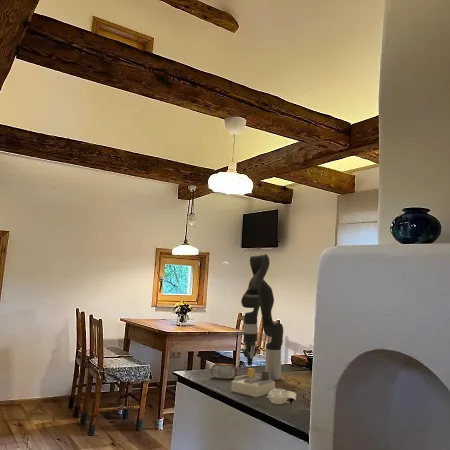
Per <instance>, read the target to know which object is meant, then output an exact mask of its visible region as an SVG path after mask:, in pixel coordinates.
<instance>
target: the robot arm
mask: <svg viewBox="0 0 450 450" xmlns="http://www.w3.org/2000/svg"><path fill="white" fill-rule="evenodd" d="M270 262H271V261H270V257H269V256H268V254H267V253H266V254H265V253H261V254H254V255H251V256H250V257H249V264H250V269H251V272H252V277H251V278H250V280H249V282H248V286H247V289H246V291H245V292H244V294H243V295H242V297H241V301H240V302H241V306H242V307H243V308H247V309H253V310H252V311H248V312H245V313H244V315H243V316H244V321H243V341H244V346H243V347H242V348H241V352H242V354H243V356H244V357H245V358H246V359H247V360H246V361H247V366H252V365H253V359H254V357H255V356H256V355H257V352H258V349H259V346H258V345H257V343H256V342H258V315H259V311H260V313H261V320H262V321H261V322H262V329H263V332H264V333H263V334H265V335H266V337H270V341H269V342H267V343H265V361H264V363H265V365H264V371H268V372H269V380H270V379H273V381H278V380H281V379H282V360H281V359H282V355H281V354H282V346H283V339H284V326H283V324H282V323H281V322H277V321H274V320H273V317H272V310H273V308H274V307H273V306H274V304H275V303H274V302H275V298H274V292H273V289H272V287H271V286H270V285H269V284H268V282H267V281H266V280H265V277H266V274H267V272H268V270H269V267H270Z"/></svg>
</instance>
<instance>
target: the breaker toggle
mask: <svg viewBox="0 0 450 450" xmlns="http://www.w3.org/2000/svg"><path fill="white" fill-rule="evenodd" d="M247 375H248V376H247V377H246V378H252V377H256V368H250V367H249V368H247Z"/></svg>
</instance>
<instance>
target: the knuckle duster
mask: <svg viewBox="0 0 450 450" xmlns="http://www.w3.org/2000/svg"><path fill="white" fill-rule="evenodd" d="M265 397H266V398H267V399H268V400H269V401H270V403H272V404H276V405H282V404H285V403H286V404H295V403H297V393H296V392H294V391H291V390H285V389H283V388H278V389H273V390H271V391H270V392H269V393H268V394H267V395H266V396H265ZM291 399H292V402H291Z"/></svg>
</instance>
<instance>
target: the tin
mask: <svg viewBox="0 0 450 450" xmlns="http://www.w3.org/2000/svg"><path fill="white" fill-rule="evenodd" d="M210 372H211V376H212V377H213V378H214V379H217V380H218V379H220V380H233V379H235V377H237V374H238V370H237V367H236V366H235V365H234V364H231V363H223V362H221V363H219V362H218V363H217V362H216V363H215V364H213V365H212V367H211V369H210Z"/></svg>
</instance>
